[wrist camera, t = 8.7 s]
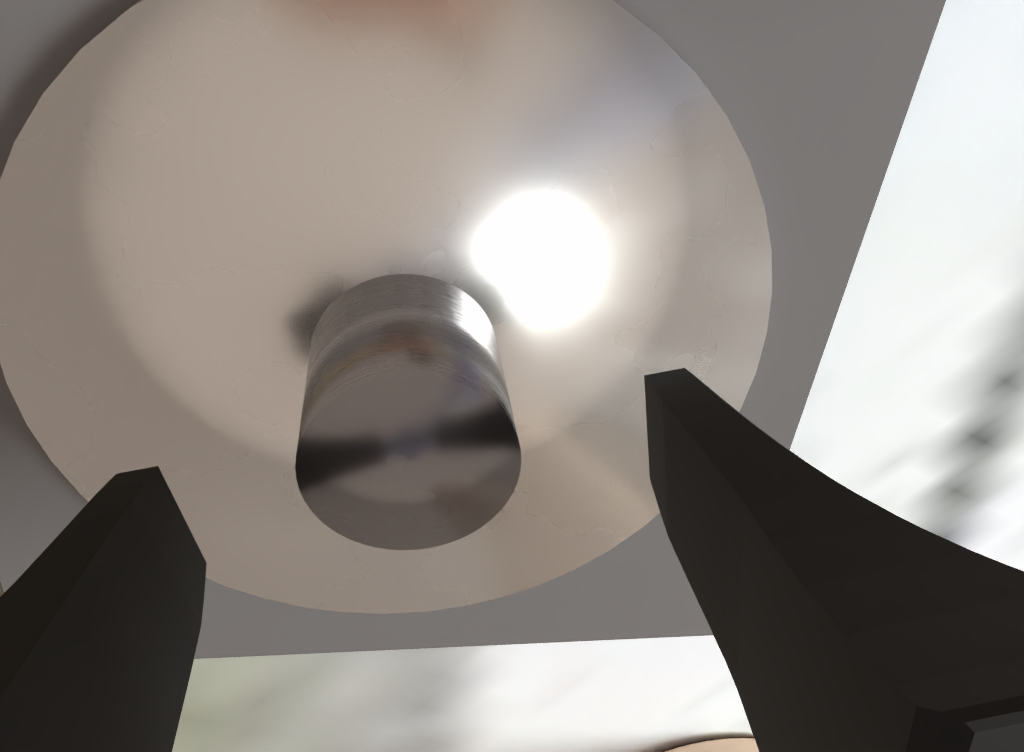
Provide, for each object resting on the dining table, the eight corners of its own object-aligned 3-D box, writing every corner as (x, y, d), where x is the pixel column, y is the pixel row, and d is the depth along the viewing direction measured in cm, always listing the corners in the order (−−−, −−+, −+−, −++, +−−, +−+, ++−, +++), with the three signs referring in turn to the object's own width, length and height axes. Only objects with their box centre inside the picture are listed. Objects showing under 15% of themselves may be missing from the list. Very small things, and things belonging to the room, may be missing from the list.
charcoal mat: (958, -109, 12) (982, -106, 12) (717, 615, 21) (724, 634, 21) (-251, -241, 10) (-286, -244, 9) (38, 643, 19) (29, 666, 18)
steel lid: (778, -142, 11) (918, -128, 8) (746, 531, 19) (815, 665, 16) (-182, 10, 11) (-390, 82, 8) (170, 639, 18) (129, 798, 15)
